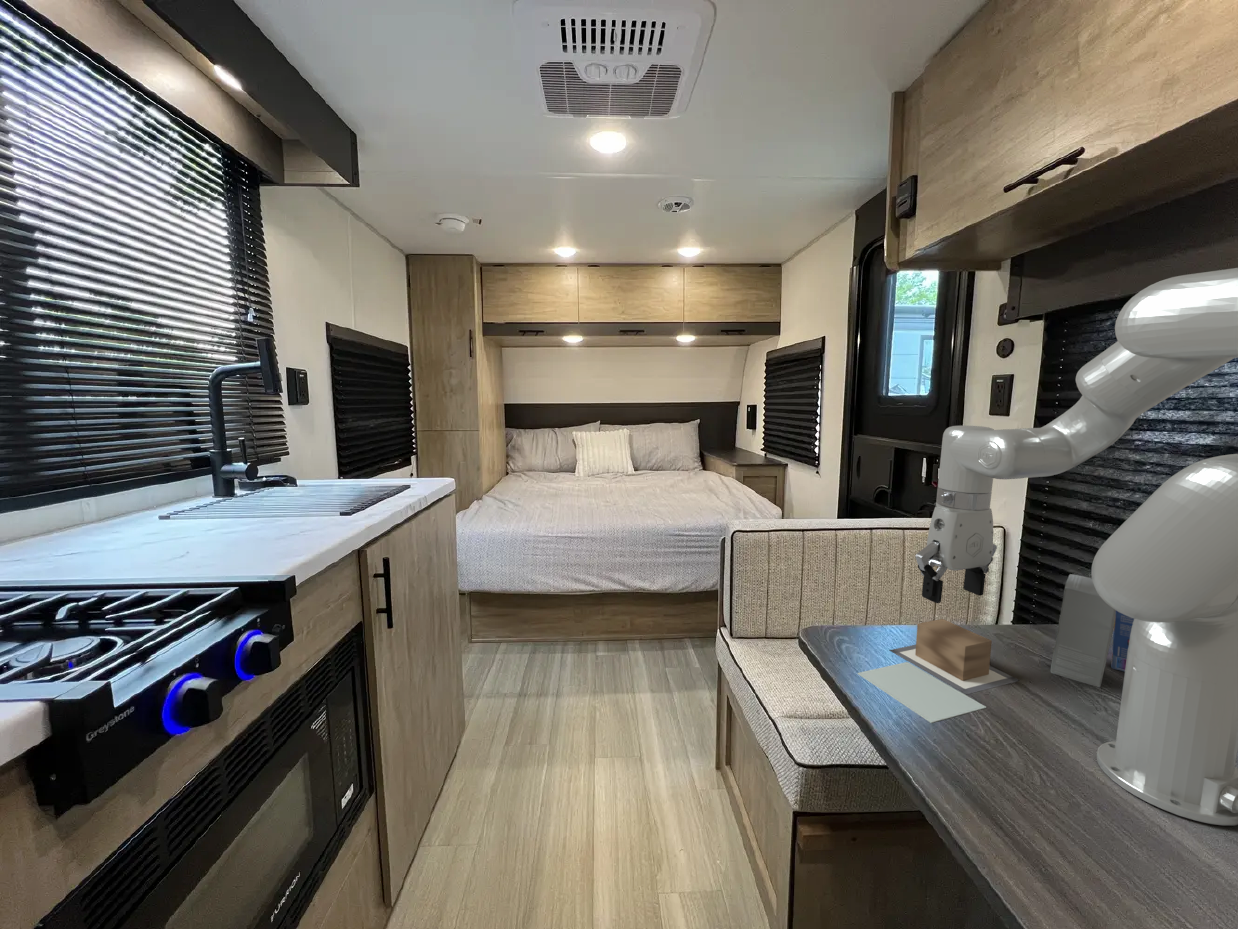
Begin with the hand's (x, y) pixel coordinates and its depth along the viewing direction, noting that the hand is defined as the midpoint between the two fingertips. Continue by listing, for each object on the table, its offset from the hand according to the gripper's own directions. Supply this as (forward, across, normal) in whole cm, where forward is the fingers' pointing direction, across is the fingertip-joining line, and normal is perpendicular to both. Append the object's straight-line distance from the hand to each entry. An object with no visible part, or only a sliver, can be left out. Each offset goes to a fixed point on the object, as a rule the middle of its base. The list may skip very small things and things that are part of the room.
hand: (952, 596), depth 88 cm
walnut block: (+12, 0, -1) cm, 12 cm away
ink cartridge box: (+12, +30, -11) cm, 34 cm away
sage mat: (+12, -12, -5) cm, 18 cm away
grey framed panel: (+12, 0, -1) cm, 12 cm away
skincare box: (+12, +18, -10) cm, 24 cm away
